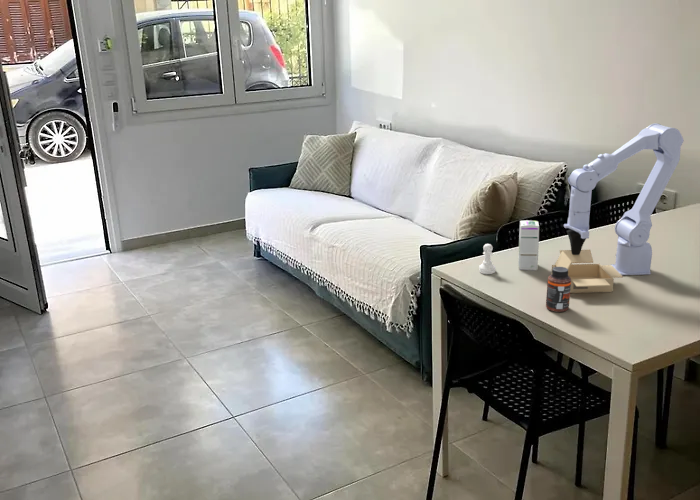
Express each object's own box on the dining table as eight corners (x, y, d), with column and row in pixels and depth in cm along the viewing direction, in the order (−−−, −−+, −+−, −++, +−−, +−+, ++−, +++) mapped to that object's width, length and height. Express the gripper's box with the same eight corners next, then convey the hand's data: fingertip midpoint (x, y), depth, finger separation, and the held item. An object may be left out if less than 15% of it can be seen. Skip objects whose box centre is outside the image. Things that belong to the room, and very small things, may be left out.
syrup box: (537, 270, 202) (540, 225, 197) (518, 270, 203) (520, 225, 198) (536, 264, 207) (539, 220, 202) (517, 263, 208) (519, 219, 204)
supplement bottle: (565, 314, 172) (568, 274, 168) (542, 310, 175) (545, 270, 171) (571, 306, 177) (574, 267, 173) (549, 302, 180) (552, 263, 176)
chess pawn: (480, 274, 201) (481, 247, 198) (477, 268, 205) (478, 241, 202) (496, 274, 200) (497, 246, 197) (493, 268, 205) (494, 241, 202)
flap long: (556, 264, 193) (563, 251, 192) (564, 275, 185) (572, 262, 184) (554, 264, 193) (562, 250, 192) (563, 275, 185) (571, 261, 183)
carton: (608, 276, 196) (609, 263, 194) (629, 298, 180) (630, 284, 179) (551, 277, 196) (551, 264, 195) (566, 299, 181) (567, 285, 180)
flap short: (593, 262, 194) (589, 250, 197) (593, 261, 194) (590, 249, 197) (562, 263, 195) (559, 251, 197) (562, 262, 194) (559, 250, 197)
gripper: (558, 204, 198) (555, 246, 203) (572, 217, 185) (569, 262, 189) (582, 203, 198) (578, 246, 202) (598, 217, 184) (593, 262, 189)
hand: (575, 254), depth 196 cm, fingers closed, pressing on flap short
